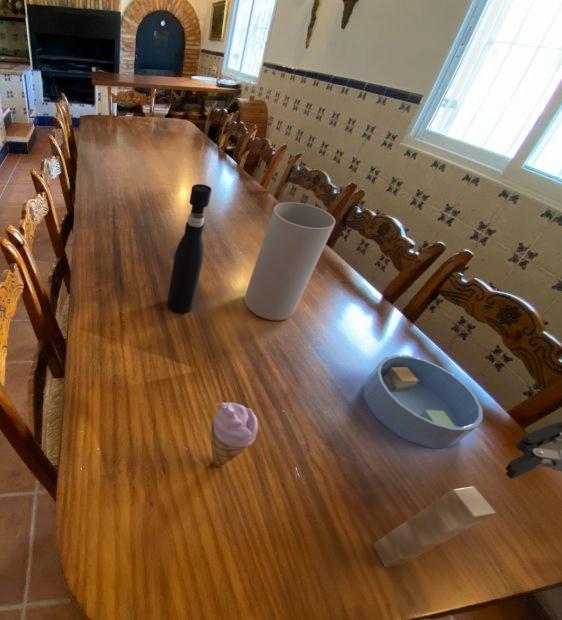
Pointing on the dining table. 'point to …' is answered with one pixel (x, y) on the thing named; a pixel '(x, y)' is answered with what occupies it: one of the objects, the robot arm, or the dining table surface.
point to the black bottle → (189, 254)
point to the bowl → (423, 403)
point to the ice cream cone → (232, 432)
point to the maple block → (400, 379)
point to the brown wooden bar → (433, 526)
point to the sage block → (438, 417)
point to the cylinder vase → (287, 259)
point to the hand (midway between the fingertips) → (547, 506)
